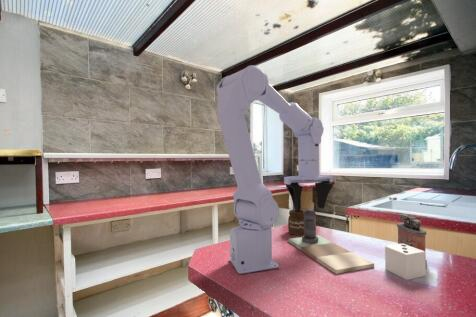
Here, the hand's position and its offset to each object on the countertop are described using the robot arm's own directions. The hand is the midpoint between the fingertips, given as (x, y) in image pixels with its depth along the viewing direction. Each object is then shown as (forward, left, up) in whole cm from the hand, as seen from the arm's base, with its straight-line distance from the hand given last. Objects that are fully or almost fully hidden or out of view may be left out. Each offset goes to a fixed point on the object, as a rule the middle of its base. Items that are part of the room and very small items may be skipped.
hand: (309, 208), depth 70 cm
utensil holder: (+2, +10, -10) cm, 14 cm away
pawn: (0, 0, -9) cm, 9 cm away
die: (+9, -21, -10) cm, 25 cm away
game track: (0, -7, -10) cm, 12 cm away
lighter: (+17, -16, -10) cm, 26 cm away
